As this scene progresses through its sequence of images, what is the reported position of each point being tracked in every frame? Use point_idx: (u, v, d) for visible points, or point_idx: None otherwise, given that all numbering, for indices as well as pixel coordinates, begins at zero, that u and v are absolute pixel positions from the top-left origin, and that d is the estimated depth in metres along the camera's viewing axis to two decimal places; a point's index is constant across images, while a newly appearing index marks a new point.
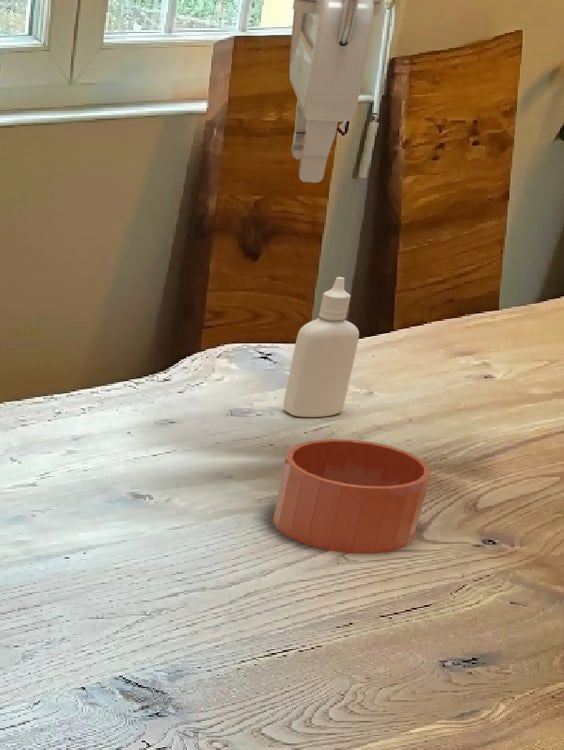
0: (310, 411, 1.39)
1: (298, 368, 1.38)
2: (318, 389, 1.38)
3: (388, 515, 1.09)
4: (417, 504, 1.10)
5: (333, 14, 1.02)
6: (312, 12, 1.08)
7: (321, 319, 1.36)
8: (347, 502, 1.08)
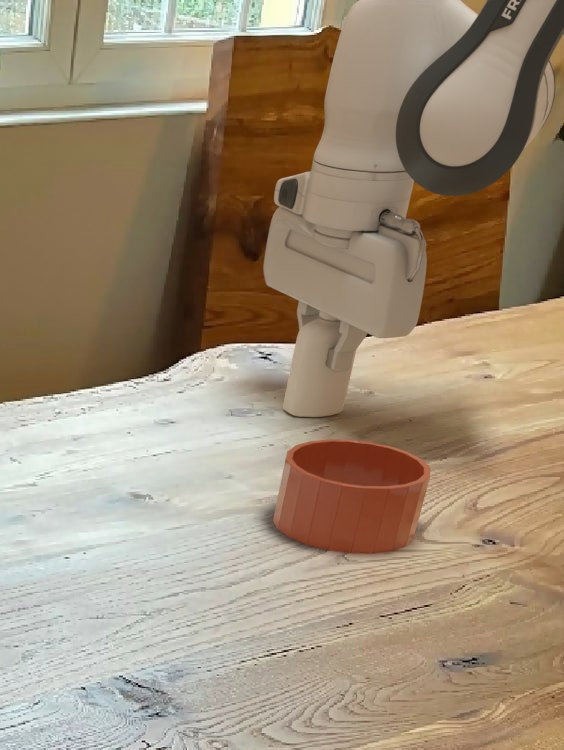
0: (310, 411, 1.39)
1: (298, 368, 1.38)
2: (318, 389, 1.38)
3: (388, 515, 1.09)
4: (417, 504, 1.10)
5: (401, 258, 1.24)
6: (346, 247, 1.29)
7: (321, 319, 1.36)
8: (347, 502, 1.08)
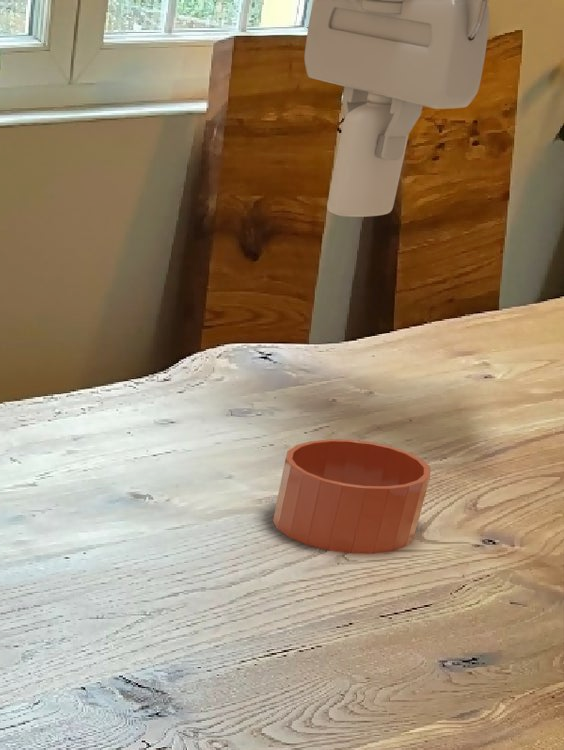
0: (357, 209, 1.28)
1: (344, 160, 1.26)
2: (366, 183, 1.27)
3: (388, 515, 1.09)
4: (417, 504, 1.10)
5: (461, 12, 1.13)
6: (398, 12, 1.18)
7: (370, 103, 1.24)
8: (347, 502, 1.08)
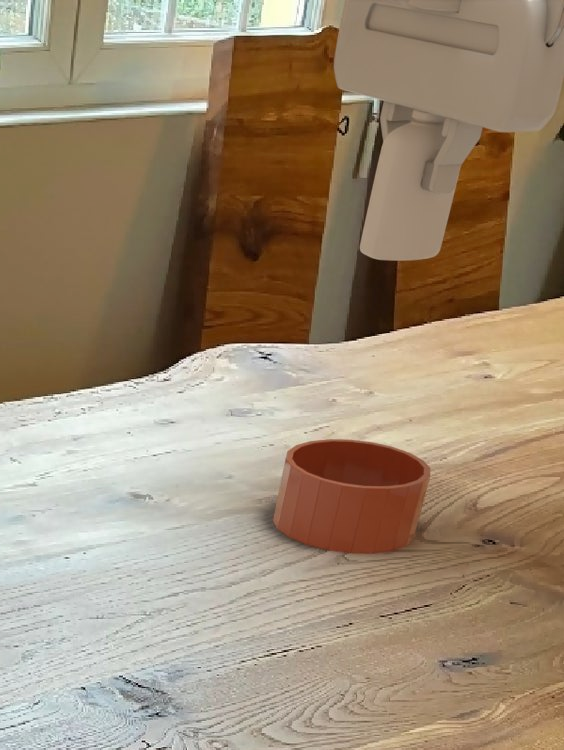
0: (397, 252, 1.04)
1: (382, 191, 1.02)
2: (409, 220, 1.03)
3: (388, 515, 1.09)
4: (417, 504, 1.10)
5: (539, 12, 0.89)
6: (456, 10, 0.94)
7: (416, 122, 1.00)
8: (347, 502, 1.08)
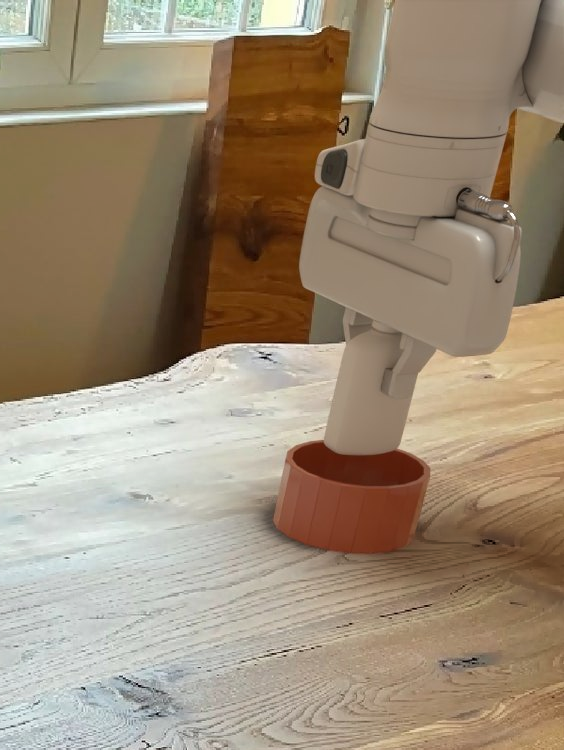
0: (359, 448, 1.09)
1: (344, 394, 1.07)
2: (370, 420, 1.08)
3: (388, 515, 1.09)
4: (417, 504, 1.10)
5: (488, 252, 0.94)
6: (411, 238, 0.99)
7: (375, 331, 1.05)
8: (347, 502, 1.08)
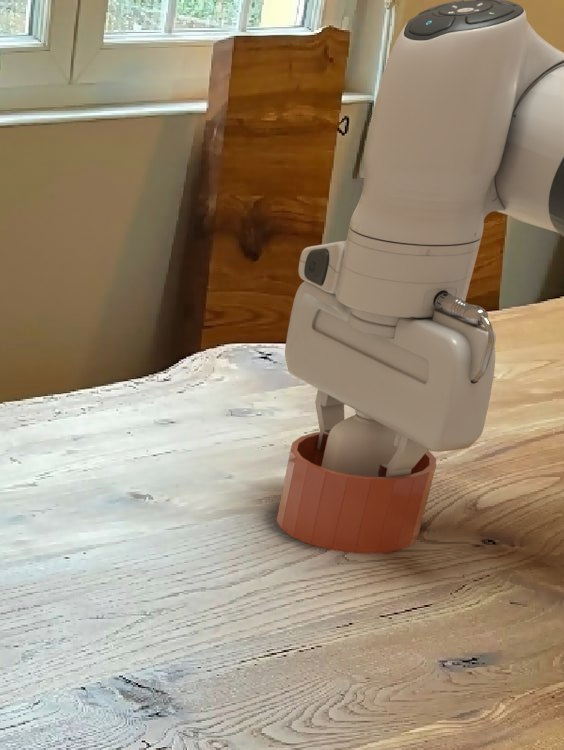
0: None
1: None
2: None
3: (394, 506, 1.08)
4: (423, 495, 1.09)
5: (463, 355, 0.98)
6: (391, 336, 1.03)
7: (358, 418, 1.09)
8: (352, 493, 1.08)
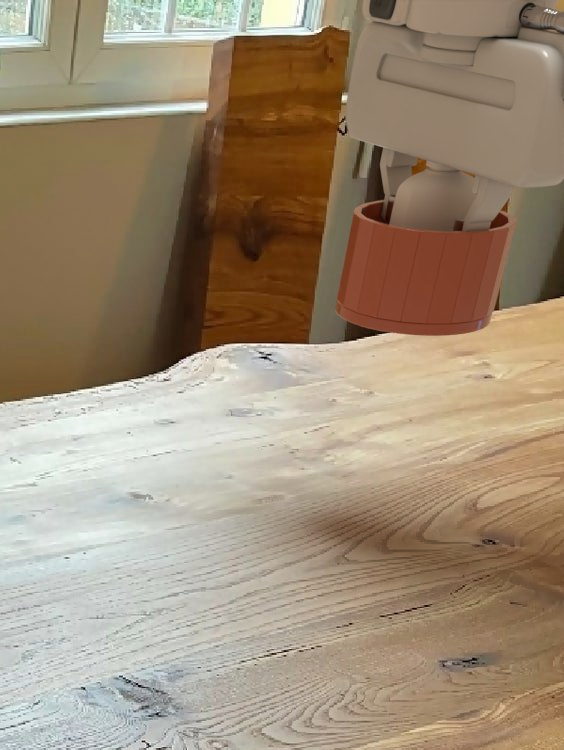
0: None
1: None
2: None
3: (470, 266, 0.98)
4: (502, 255, 0.99)
5: (556, 68, 0.88)
6: (470, 63, 0.93)
7: (430, 170, 0.99)
8: (425, 251, 0.98)
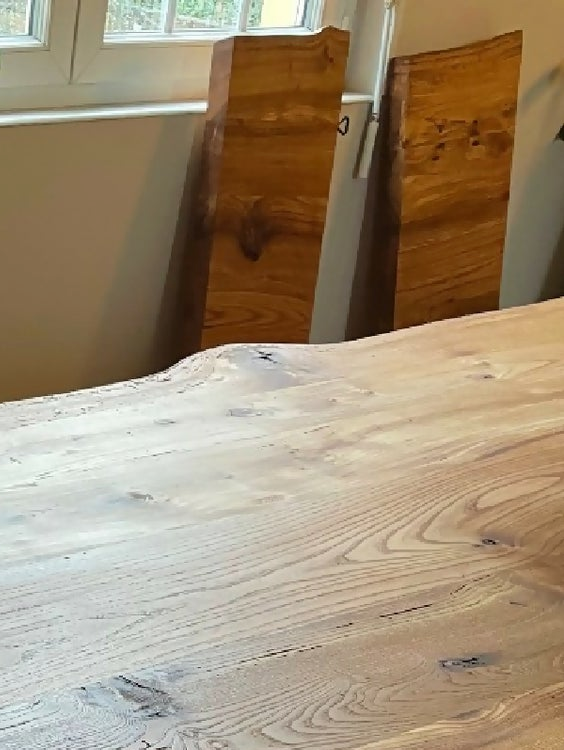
0: None
1: None
2: None
3: None
4: None
5: None
6: None
7: None
8: None
